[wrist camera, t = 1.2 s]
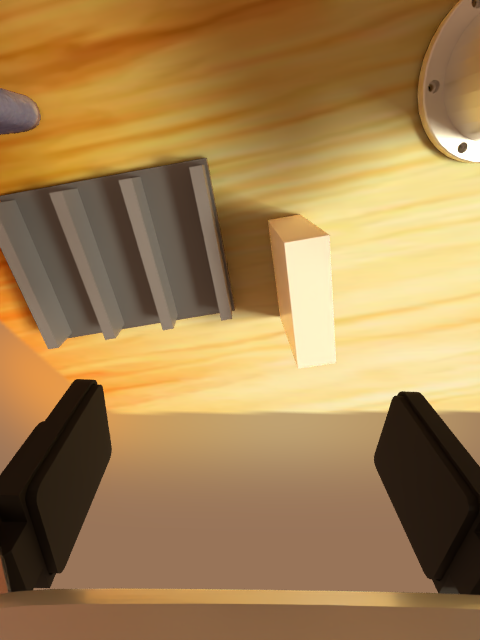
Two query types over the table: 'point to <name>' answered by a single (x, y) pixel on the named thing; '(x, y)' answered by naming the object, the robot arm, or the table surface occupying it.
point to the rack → (118, 251)
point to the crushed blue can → (17, 112)
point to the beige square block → (304, 288)
